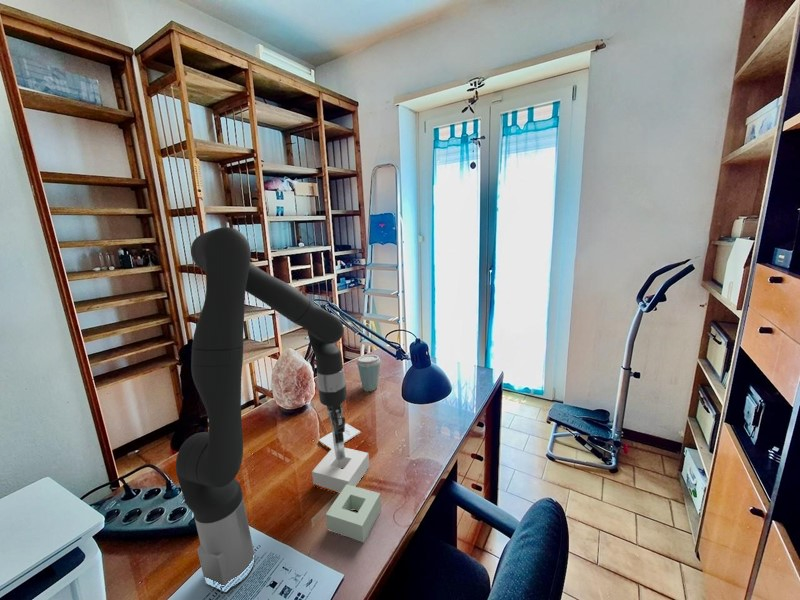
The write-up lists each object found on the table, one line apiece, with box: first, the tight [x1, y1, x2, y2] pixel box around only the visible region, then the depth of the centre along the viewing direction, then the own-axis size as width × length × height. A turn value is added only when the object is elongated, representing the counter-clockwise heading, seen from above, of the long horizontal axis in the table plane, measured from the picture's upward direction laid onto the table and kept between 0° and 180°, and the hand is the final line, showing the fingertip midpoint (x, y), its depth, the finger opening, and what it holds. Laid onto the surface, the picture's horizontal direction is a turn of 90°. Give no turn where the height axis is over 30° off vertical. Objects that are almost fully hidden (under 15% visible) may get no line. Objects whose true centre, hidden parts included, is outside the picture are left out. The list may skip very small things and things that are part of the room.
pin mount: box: [325, 484, 382, 543], centre depth 85 cm, size 10×10×5 cm
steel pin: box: [330, 423, 346, 460], centre depth 98 cm, size 3×3×11 cm
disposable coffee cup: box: [356, 354, 381, 392], centre depth 151 cm, size 11×11×15 cm
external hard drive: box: [317, 423, 362, 449], centre depth 119 cm, size 2×8×12 cm
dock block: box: [311, 447, 371, 492], centre depth 100 cm, size 12×12×5 cm
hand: (338, 438), depth 98 cm, fingers closed on steel pin, 3 cm apart
